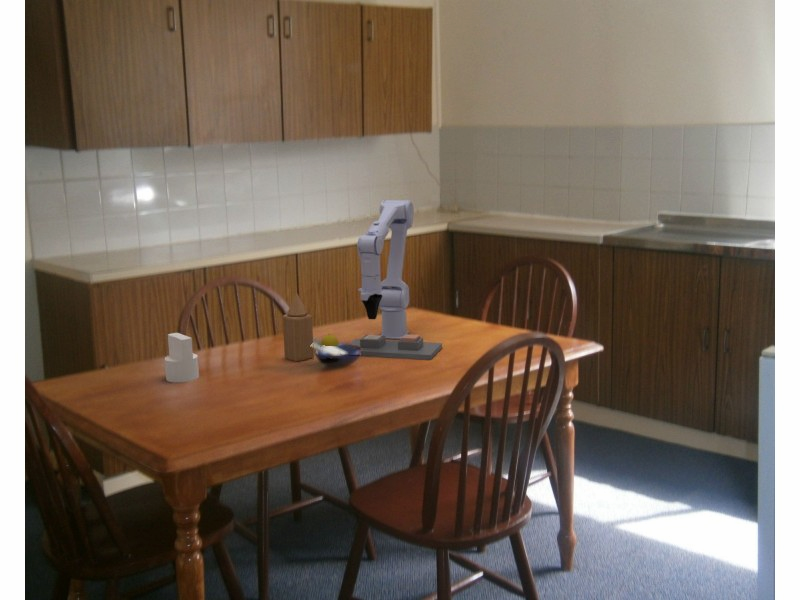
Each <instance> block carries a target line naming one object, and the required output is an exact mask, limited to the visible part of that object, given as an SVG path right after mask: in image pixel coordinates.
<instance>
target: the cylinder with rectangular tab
mask: <svg viewBox="0 0 800 600" xmlns="http://www.w3.org/2000/svg"><path fill="white" fill-rule="evenodd" d="M167 342H168V343H167V344H168V354H169V355H167V356H165V357H164V369H165V371H164V372H165V379H166V381H167V382H169V383H187V382H192V381H196V380H197V379H199V377H200V372H199V356H198V354H196V353H194V352H193V339H192V337H190V336H188V335H184V334H182V333H179V332H173V333H169V334H167Z"/></svg>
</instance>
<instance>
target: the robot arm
mask: <svg viewBox="0 0 800 600" xmlns="http://www.w3.org/2000/svg"><path fill="white" fill-rule="evenodd" d="M414 210H415V209H414V205H413V202H412V200H410V199H406V200H401V199H400V200H395V199H393V200H391V199H390V200H388V199H383V200H381V202H380V205H379V217H378V219H377V220H375V221H373V222H372V223H371V225H370V227H369V228H368V230H367V231H366V232H365V234H362V235H361V236H359V237H358V239H357V244H356V247H357V252H358V259H359V261H360V267H361V268H360V270H361V271H360V272H361V275H360V276H361V287H360V288H358V289H357V291H358V292H360V301H361V302H362V304H363V305H364V307H365V312H366V315H367V318H368V320H376V319H377V316H378V312H379V310H380V311H381V334H380V335H384V336H386V339H389V340H390V339H391V340H392V339H393V340H400V339H401V338H402V337H403V336H404V335H405V334H410V332H411V331H410V330H407V327H408V326H407V313H406V310H405V309H407V308H408V306H409V304H410V288H409V285H408V284H407V283H405V281H403V269H404V260H405V259H404V258H405V251H406V241H407V234H408V230H409V229H410V228H412V227H413V221H414V213H415V212H414ZM389 229H390V231H391V236H390V246H389V254H388V262H387V271H386V278H384V279H383V280H382V281H381V254H382V252H383V250H384V249H383V248H384V244H385V242H384V240H385V239H386V238H387V236H388V234H389Z"/></svg>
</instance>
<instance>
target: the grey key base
mask: <svg viewBox="0 0 800 600" xmlns="http://www.w3.org/2000/svg"><path fill="white" fill-rule="evenodd" d="M368 335H369V334H366V335H364V336H363V337H361V338H355V339H353V340H352V341H351V342H349V343H348V344H352V345H358V346H360V347H361V348H362V351H361V355H360V356H359V357H374V358H387V359H388V358H389V359H390V358H391V359H405V360H407V359H408V360H427V361H432V359H433V358H434V357H436V355H437V354H438V353H439V352H440V351H441V350H442V349H443V342H432V341H431V342H427V341H426V342H425V341H424V337H421V336H420V339H419V340H418V341H417V342H407V341H402V338H401V339H398V340H394V339H393V340H392V339H391V340H390V339H389V340H388V339H387V338H386V336H384V335H381V334H380V335H379V334H378V335H379V336H382V337H381V338H380V339H379V340H369V339H364V338H365V337H366V336H368ZM441 348H442V349H441Z"/></svg>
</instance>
